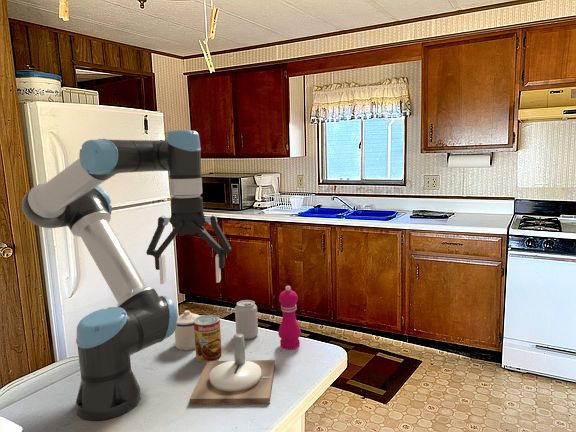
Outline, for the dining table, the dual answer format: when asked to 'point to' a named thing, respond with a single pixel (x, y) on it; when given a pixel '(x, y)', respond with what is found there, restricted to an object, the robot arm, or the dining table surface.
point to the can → (246, 319)
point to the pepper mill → (289, 320)
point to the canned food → (207, 338)
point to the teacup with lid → (185, 331)
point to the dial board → (253, 395)
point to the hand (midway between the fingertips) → (191, 281)
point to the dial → (236, 370)
